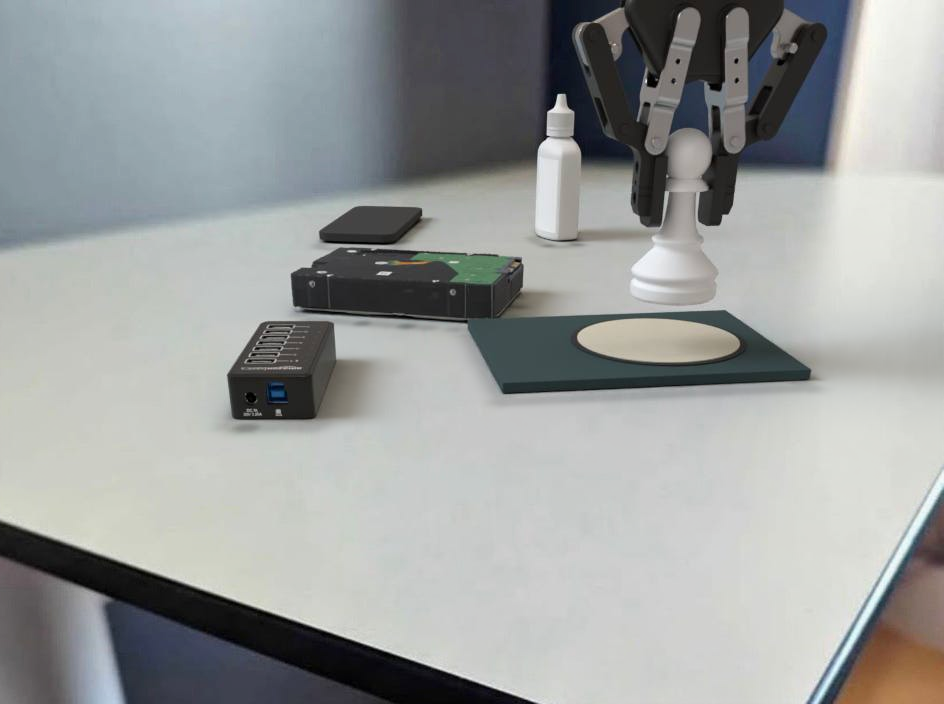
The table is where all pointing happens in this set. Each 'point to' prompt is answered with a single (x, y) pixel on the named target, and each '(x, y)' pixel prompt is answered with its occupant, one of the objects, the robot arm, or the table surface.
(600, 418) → the table surface
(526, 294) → the table surface
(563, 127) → the eye dropper bottle
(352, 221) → the phone
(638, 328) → the drawing mat
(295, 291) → the disk drive
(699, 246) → the chess pawn
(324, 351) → the multiport hub
